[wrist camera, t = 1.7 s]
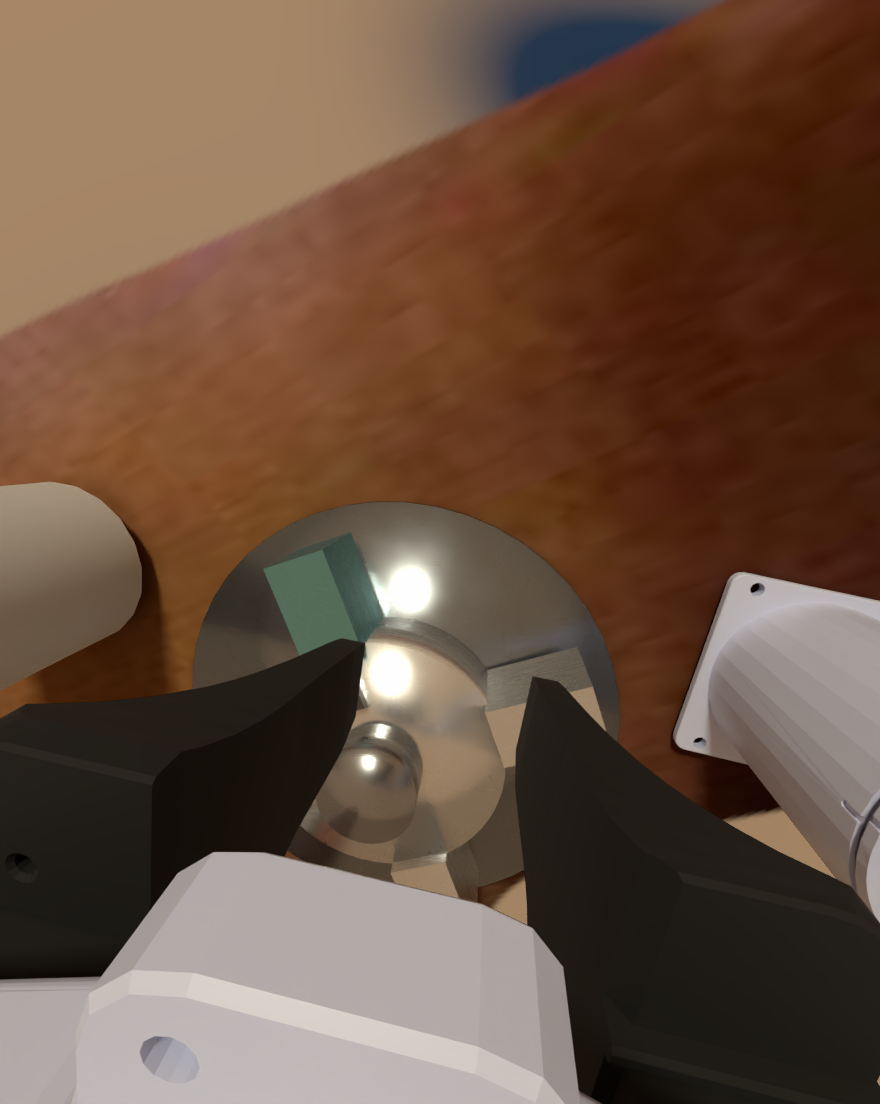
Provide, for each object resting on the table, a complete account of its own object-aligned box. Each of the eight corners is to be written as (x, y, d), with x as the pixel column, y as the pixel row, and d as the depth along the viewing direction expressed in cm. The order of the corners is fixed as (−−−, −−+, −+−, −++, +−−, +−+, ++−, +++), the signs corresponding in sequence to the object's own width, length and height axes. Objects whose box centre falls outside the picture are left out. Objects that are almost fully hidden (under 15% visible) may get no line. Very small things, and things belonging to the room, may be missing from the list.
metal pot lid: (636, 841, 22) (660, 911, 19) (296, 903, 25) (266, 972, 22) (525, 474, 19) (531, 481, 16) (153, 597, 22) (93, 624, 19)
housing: (678, 557, 19) (748, 602, 14) (555, 933, 24) (571, 1075, 19) (211, 458, 21) (110, 464, 15) (182, 833, 26) (98, 939, 20)
